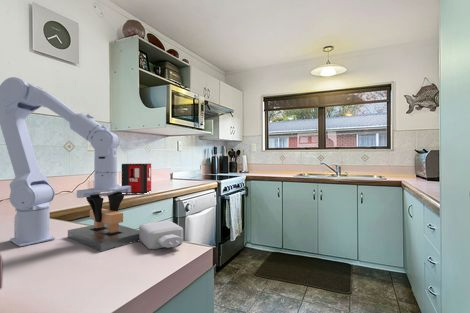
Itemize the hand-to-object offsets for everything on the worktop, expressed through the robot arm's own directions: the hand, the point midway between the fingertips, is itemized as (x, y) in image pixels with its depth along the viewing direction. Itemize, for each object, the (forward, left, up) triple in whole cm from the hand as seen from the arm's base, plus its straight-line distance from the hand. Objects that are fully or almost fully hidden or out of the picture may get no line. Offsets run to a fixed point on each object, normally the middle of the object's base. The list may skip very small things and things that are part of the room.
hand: (105, 220), depth 73 cm
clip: (0, 0, -2) cm, 3 cm away
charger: (+18, +6, -6) cm, 20 cm away
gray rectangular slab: (0, 0, -5) cm, 5 cm away
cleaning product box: (-83, +62, -5) cm, 104 cm away
